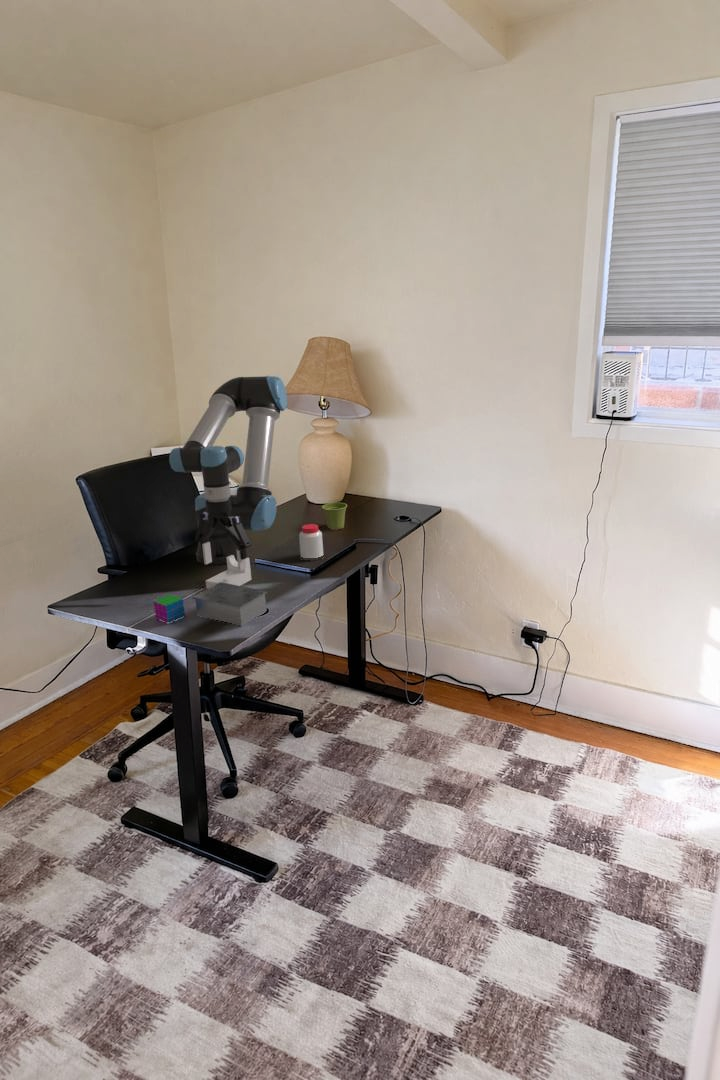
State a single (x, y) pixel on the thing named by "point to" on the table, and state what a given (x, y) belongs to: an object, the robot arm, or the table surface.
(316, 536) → the pill bottle
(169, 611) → the puzzle toy
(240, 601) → the gray rectangular block
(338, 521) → the plant pot
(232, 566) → the bracket
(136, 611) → the table surface
